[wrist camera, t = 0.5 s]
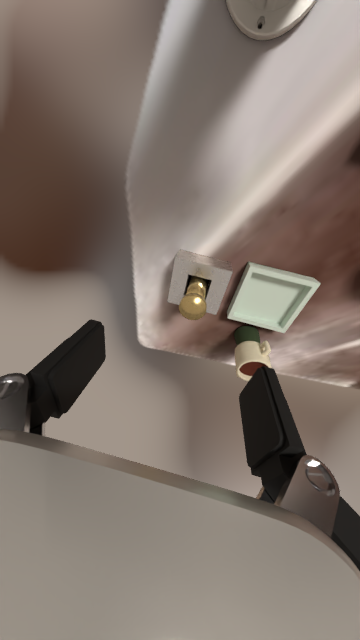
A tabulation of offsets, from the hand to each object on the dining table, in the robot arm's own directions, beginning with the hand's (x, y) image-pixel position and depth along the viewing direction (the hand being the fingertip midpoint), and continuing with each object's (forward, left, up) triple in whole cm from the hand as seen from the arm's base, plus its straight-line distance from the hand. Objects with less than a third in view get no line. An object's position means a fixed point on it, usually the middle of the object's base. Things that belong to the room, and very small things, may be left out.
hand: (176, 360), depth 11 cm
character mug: (+19, +17, -32) cm, 41 cm away
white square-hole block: (+7, +1, -32) cm, 33 cm away
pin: (+7, +1, -32) cm, 33 cm away
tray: (+8, +17, -32) cm, 37 cm away
